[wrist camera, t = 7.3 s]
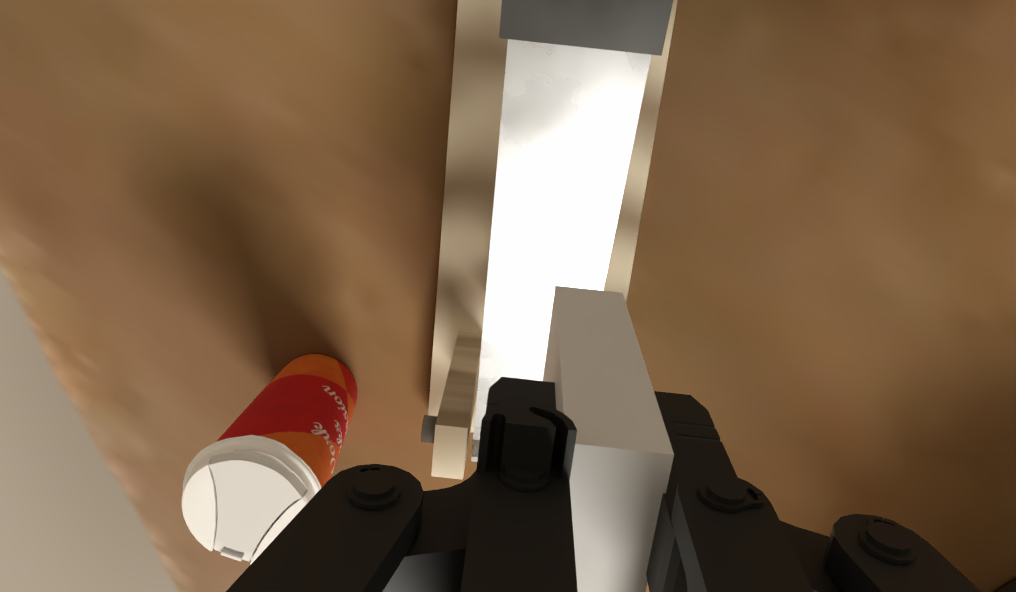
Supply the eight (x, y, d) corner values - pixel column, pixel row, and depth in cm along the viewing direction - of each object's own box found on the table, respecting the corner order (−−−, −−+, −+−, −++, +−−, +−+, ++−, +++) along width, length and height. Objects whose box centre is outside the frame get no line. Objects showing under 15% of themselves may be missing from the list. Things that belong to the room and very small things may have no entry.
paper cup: (354, 450, 53) (294, 590, 40) (252, 414, 52) (157, 544, 39) (388, 361, 51) (336, 479, 37) (281, 321, 50) (191, 427, 37)
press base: (599, 431, 52) (621, 568, 39) (431, 412, 52) (395, 544, 39) (682, -68, 41) (752, -112, 28) (468, -92, 41) (436, -146, 28)
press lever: (570, 441, 40) (571, 478, 38) (469, 430, 40) (464, 467, 38) (685, -121, 24) (696, -109, 22) (516, -139, 24) (512, -130, 22)
